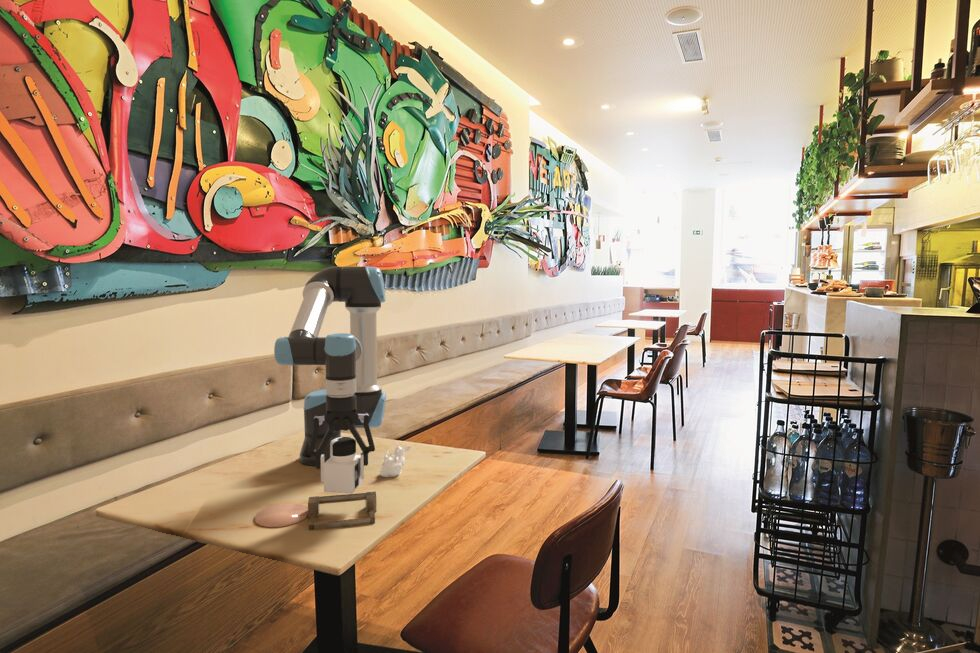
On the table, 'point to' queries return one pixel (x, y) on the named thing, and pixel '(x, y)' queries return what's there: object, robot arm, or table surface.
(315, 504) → the collar
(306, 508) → the pink flat disc
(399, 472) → the rabbit figurine
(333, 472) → the container
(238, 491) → the table surface
